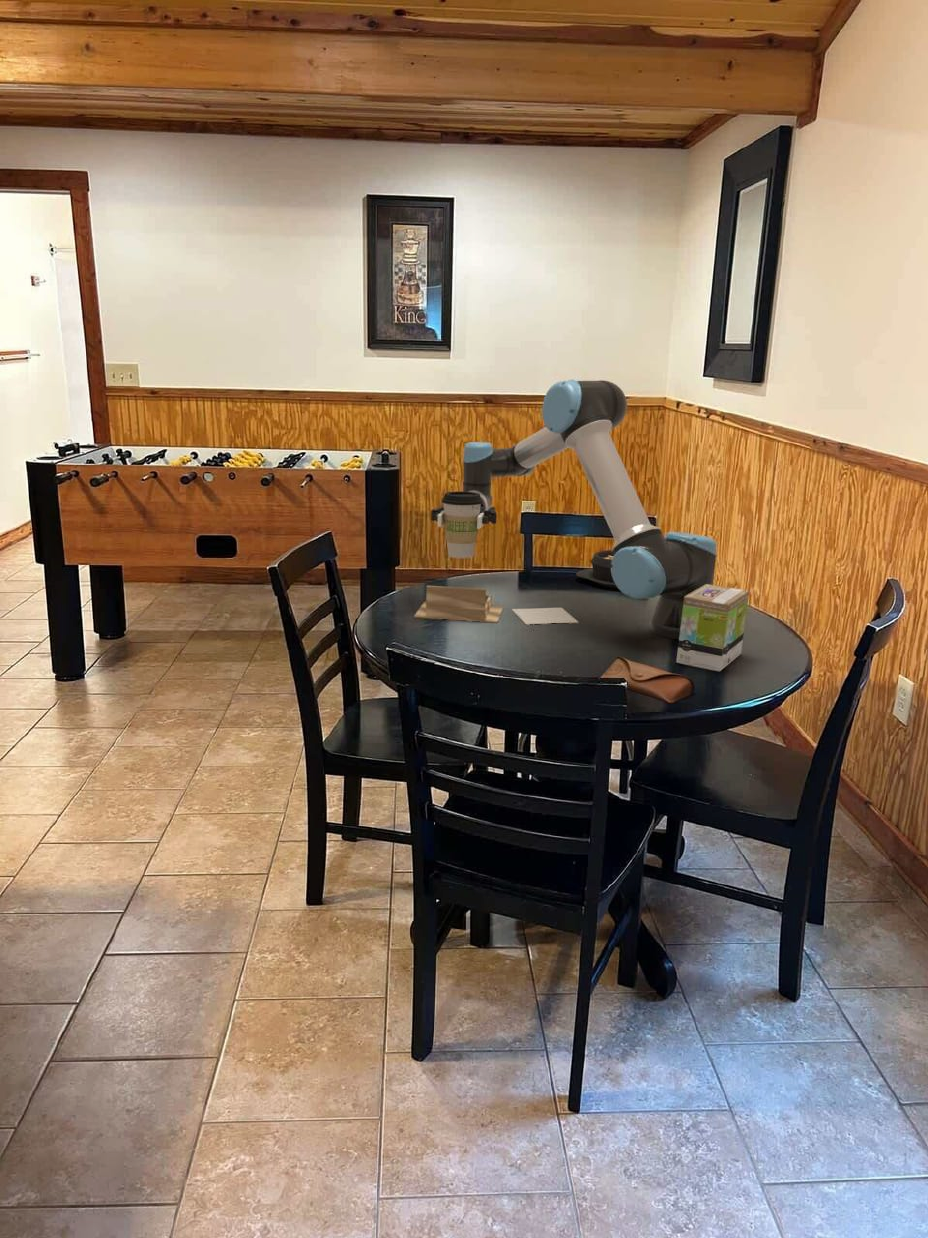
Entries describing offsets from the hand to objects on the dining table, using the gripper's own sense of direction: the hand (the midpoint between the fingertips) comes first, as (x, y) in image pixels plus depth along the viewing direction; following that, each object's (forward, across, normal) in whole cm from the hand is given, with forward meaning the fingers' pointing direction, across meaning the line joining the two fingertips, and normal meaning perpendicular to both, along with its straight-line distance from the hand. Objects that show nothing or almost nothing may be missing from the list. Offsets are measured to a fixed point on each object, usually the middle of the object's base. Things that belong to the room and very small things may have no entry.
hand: (459, 522), depth 217 cm
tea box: (+19, -58, -24) cm, 65 cm away
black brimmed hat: (-45, -40, -24) cm, 64 cm away
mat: (-6, -21, -23) cm, 32 cm away
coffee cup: (-5, 0, -9) cm, 10 cm away
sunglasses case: (+40, -43, -24) cm, 63 cm away
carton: (-6, 0, -23) cm, 24 cm away
